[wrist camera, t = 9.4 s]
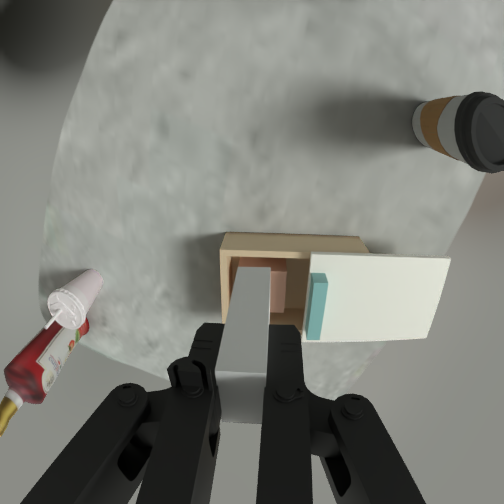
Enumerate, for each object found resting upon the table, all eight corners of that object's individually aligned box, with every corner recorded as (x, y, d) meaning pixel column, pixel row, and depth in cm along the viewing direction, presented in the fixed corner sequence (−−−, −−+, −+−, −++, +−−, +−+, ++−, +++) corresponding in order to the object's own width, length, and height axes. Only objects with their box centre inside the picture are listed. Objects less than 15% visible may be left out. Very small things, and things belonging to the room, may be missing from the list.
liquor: (95, 336, 52) (23, 455, 26) (63, 326, 52) (-14, 433, 26) (90, 303, 49) (2, 425, 23) (57, 294, 49) (-35, 401, 23)
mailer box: (226, 231, 43) (219, 249, 37) (358, 236, 42) (371, 254, 37) (227, 307, 48) (222, 332, 42) (346, 310, 47) (354, 334, 41)
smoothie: (79, 255, 45) (29, 300, 33) (113, 270, 46) (68, 321, 33) (76, 287, 48) (32, 336, 35) (108, 301, 49) (69, 355, 36)
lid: (310, 251, 36) (314, 263, 33) (448, 256, 36) (459, 266, 33) (301, 338, 41) (302, 353, 38) (424, 334, 41) (432, 348, 38)
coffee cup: (432, 166, 37) (497, 194, 24) (392, 124, 36) (451, 131, 22) (463, 125, 34) (534, 138, 21) (426, 82, 33) (493, 74, 19)
